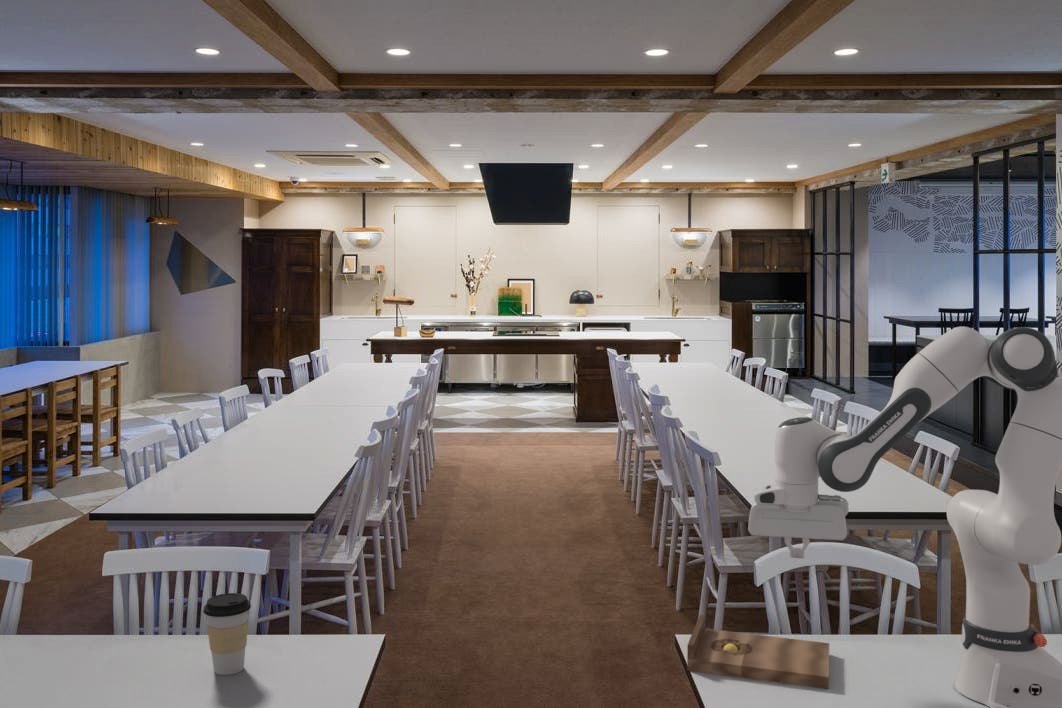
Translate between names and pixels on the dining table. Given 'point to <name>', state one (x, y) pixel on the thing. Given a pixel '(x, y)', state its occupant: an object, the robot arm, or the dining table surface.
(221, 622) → the coffee cup
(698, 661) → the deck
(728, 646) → the ball
